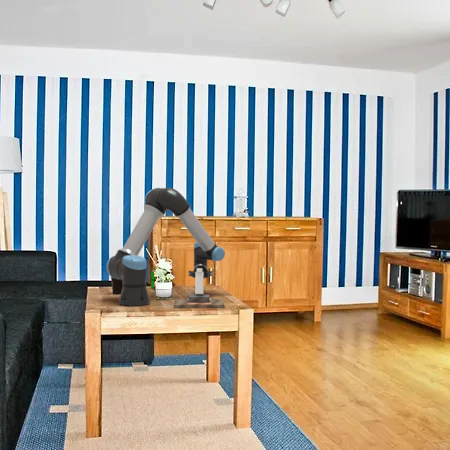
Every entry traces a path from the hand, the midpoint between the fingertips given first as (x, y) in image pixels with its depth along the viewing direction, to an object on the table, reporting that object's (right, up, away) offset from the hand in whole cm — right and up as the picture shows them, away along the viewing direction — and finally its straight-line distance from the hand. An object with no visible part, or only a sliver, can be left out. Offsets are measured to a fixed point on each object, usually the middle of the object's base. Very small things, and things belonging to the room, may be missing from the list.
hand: (200, 277), depth 319 cm
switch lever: (0, -8, -10) cm, 13 cm away
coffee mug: (-46, -11, +28) cm, 55 cm away
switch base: (0, -13, -10) cm, 16 cm away
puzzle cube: (-24, -11, +49) cm, 56 cm away
